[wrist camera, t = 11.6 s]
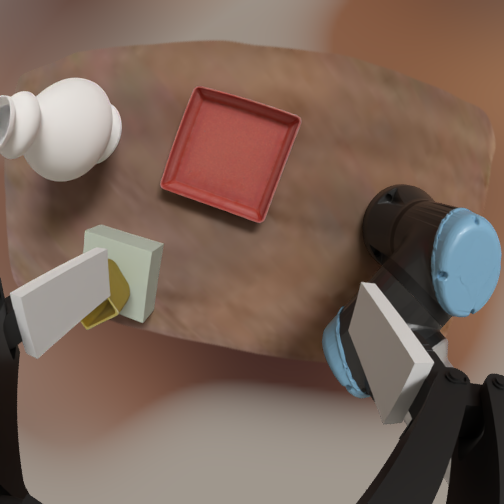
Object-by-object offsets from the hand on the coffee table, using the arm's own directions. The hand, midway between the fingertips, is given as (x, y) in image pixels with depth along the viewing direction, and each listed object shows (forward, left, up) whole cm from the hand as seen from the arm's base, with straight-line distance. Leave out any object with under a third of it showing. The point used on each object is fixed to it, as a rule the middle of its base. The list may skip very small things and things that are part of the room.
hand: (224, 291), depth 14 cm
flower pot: (+24, +15, -29) cm, 41 cm away
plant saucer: (+6, -8, -35) cm, 37 cm away
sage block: (+24, +15, -35) cm, 45 cm away
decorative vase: (+33, -11, -35) cm, 49 cm away
